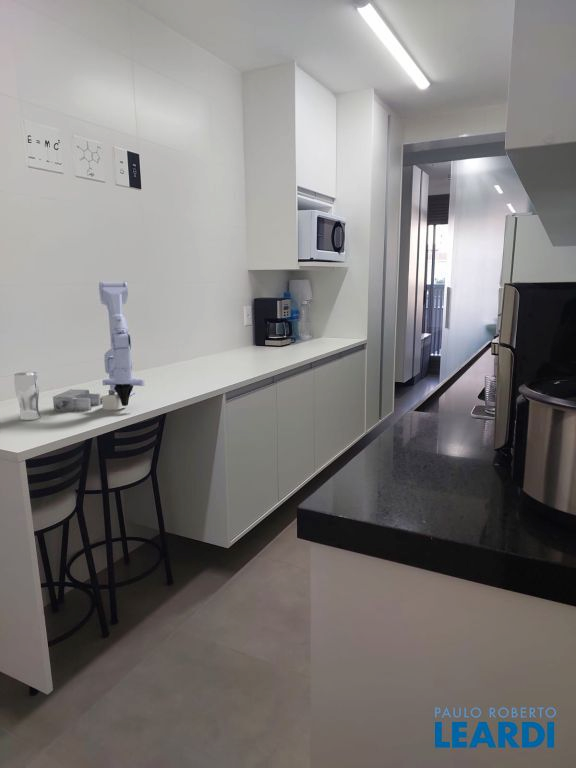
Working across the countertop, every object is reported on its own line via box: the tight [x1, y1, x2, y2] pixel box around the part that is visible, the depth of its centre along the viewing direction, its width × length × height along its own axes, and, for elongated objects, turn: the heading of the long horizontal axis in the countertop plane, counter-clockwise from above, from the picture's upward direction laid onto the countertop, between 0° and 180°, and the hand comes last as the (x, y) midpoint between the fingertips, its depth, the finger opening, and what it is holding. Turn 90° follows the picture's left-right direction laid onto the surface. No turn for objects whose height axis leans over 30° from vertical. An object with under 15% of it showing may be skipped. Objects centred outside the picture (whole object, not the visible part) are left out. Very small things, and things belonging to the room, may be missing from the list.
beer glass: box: [13, 371, 41, 422], centre depth 165 cm, size 7×7×15 cm
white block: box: [101, 389, 123, 411], centre depth 179 cm, size 5×5×6 cm
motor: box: [52, 388, 102, 412], centre depth 179 cm, size 15×12×5 cm
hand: (125, 405), depth 180 cm, fingers closed
